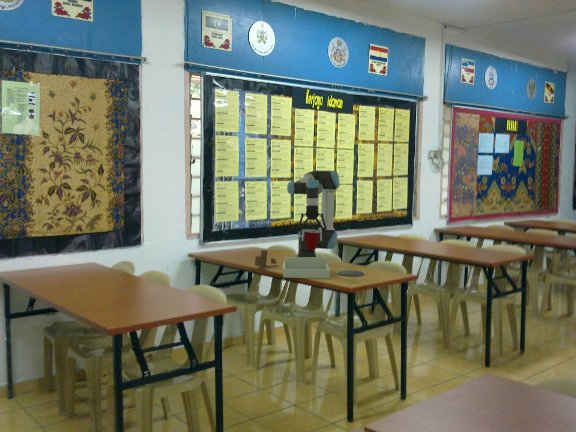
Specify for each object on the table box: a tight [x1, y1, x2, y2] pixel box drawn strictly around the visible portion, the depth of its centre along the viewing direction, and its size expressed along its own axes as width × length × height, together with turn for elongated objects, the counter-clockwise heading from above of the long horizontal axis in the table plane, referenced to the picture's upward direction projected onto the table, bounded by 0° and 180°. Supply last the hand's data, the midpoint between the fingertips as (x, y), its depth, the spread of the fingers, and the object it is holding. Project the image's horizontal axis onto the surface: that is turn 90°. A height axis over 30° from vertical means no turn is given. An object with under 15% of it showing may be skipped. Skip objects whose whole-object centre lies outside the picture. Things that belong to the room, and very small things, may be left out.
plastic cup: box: [302, 228, 321, 251], centre depth 373 cm, size 11×11×12 cm
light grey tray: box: [282, 256, 331, 279], centre depth 375 cm, size 28×28×8 cm
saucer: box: [337, 269, 365, 278], centre depth 375 cm, size 16×16×1 cm
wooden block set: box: [254, 249, 278, 267], centre depth 399 cm, size 18×9×10 cm, turn 145°
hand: (311, 240), depth 373 cm, fingers closed on plastic cup, 11 cm apart
